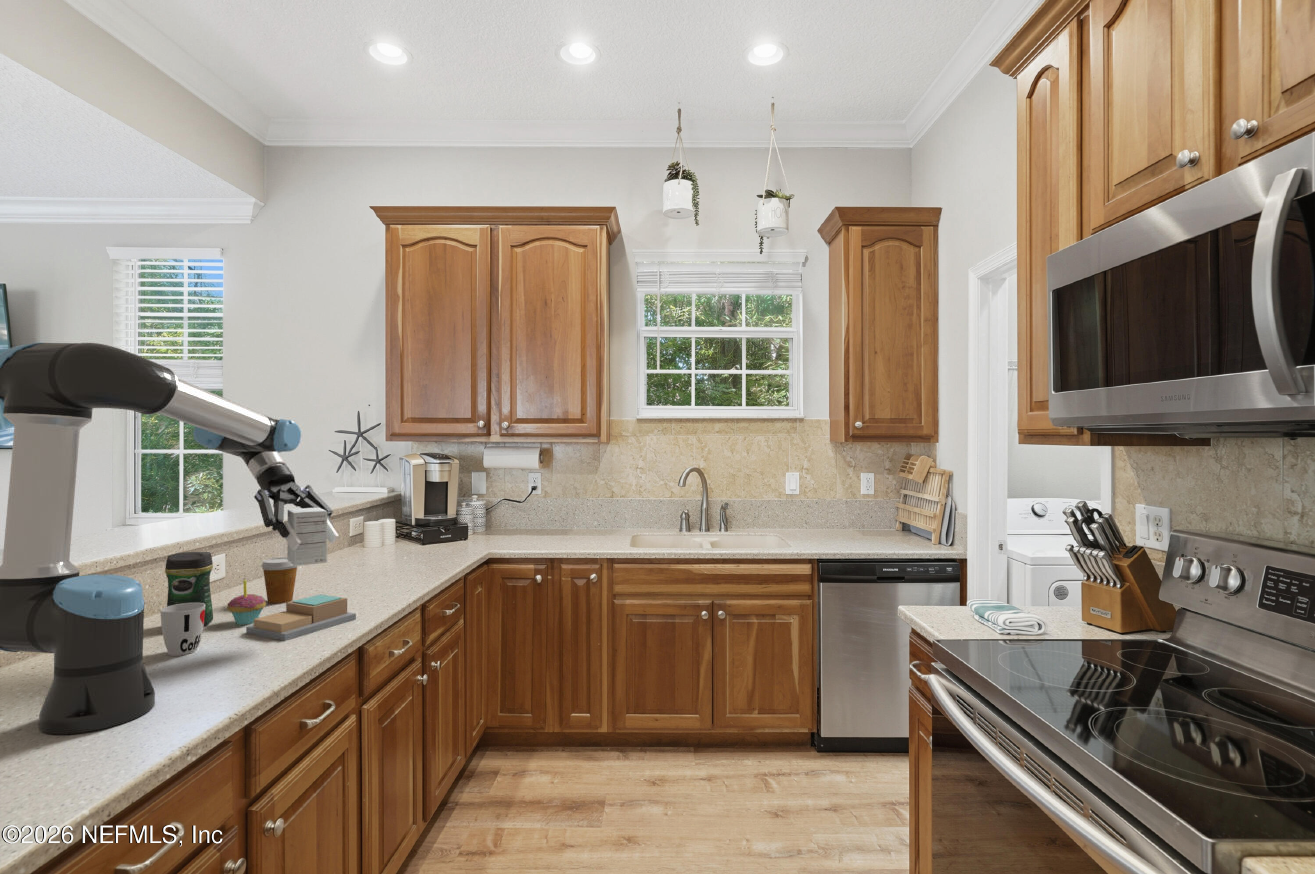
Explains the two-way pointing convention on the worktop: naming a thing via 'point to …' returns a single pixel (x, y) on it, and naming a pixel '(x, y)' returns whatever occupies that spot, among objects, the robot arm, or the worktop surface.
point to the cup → (182, 627)
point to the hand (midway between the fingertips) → (316, 542)
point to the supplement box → (308, 536)
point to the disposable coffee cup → (279, 579)
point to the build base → (302, 629)
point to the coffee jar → (190, 580)
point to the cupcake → (246, 607)
